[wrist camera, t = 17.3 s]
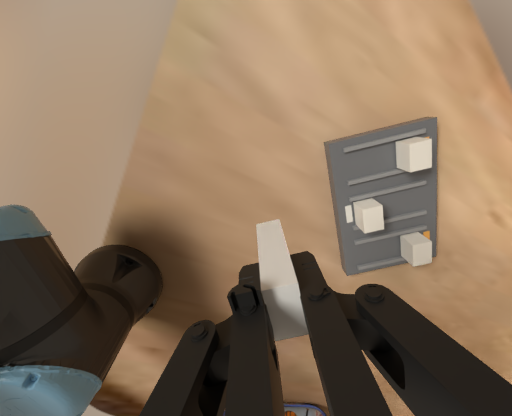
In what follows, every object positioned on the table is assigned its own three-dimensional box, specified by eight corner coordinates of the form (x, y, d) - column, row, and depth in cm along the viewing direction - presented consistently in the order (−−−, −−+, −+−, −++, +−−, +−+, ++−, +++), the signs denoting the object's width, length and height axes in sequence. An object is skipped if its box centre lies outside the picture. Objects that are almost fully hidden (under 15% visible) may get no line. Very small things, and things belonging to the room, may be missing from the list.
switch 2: (401, 255, 45) (413, 266, 41) (400, 235, 43) (412, 245, 40) (418, 251, 44) (431, 262, 41) (417, 231, 43) (431, 241, 40)
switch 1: (396, 167, 39) (410, 172, 36) (395, 141, 38) (409, 144, 35) (416, 162, 39) (431, 167, 36) (415, 136, 38) (431, 138, 34)
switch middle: (355, 224, 42) (364, 233, 39) (353, 202, 41) (362, 209, 38) (373, 220, 42) (384, 229, 39) (371, 197, 41) (382, 205, 38)
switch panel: (342, 268, 49) (348, 277, 46) (323, 142, 40) (329, 144, 37) (426, 249, 48) (438, 258, 45) (425, 117, 39) (439, 117, 37)
